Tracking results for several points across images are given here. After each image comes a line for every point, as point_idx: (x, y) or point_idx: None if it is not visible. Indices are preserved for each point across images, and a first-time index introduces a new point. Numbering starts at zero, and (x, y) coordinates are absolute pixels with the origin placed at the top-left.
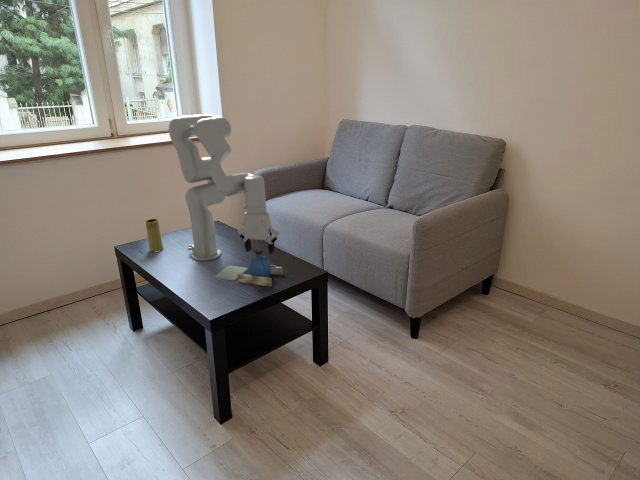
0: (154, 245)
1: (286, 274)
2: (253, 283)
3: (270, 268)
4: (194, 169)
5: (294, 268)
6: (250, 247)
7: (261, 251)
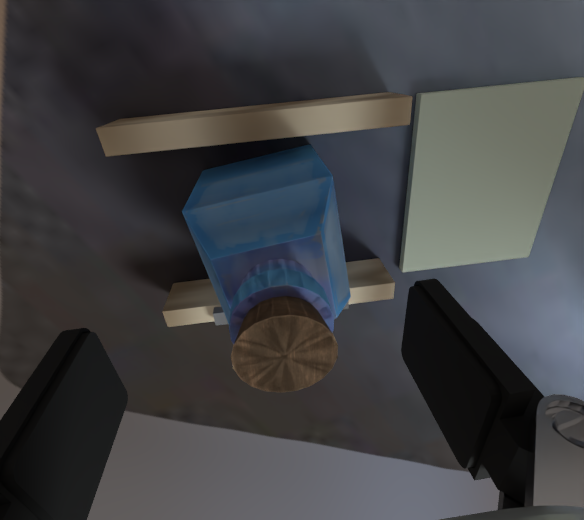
0: None
1: (156, 302)
2: (262, 105)
3: None
4: None
5: (167, 366)
6: (414, 362)
7: (234, 343)
